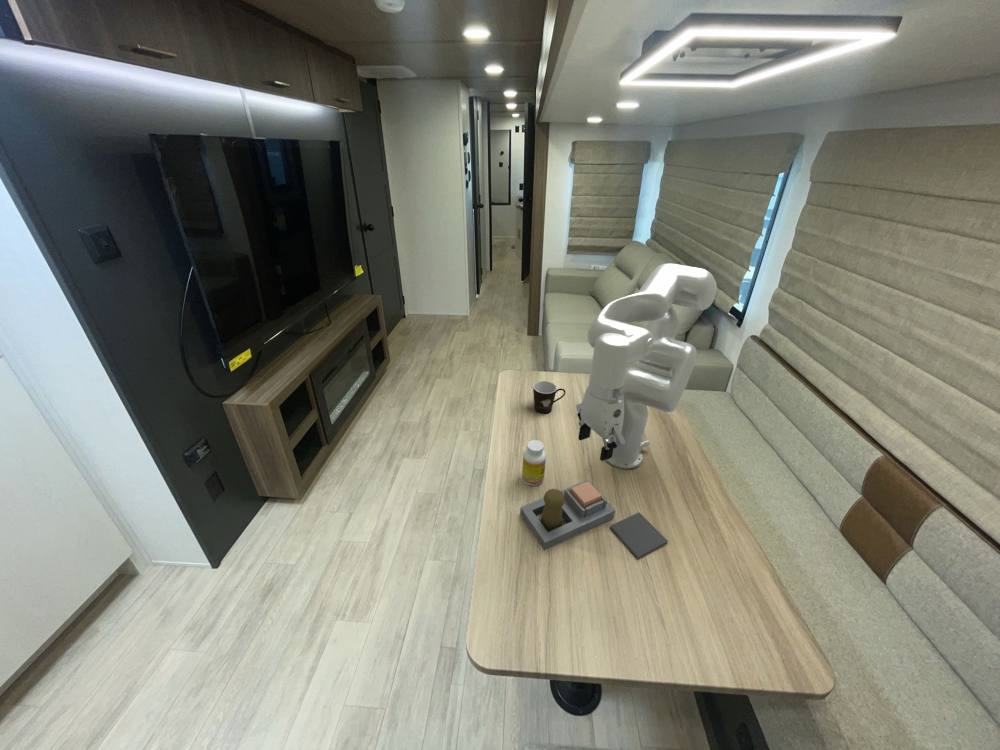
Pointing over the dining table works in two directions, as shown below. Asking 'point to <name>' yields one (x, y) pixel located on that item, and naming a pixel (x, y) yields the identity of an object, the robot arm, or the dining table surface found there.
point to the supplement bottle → (533, 463)
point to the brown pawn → (552, 510)
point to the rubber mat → (638, 535)
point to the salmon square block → (586, 494)
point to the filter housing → (566, 518)
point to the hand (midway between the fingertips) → (594, 448)
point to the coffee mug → (545, 396)
